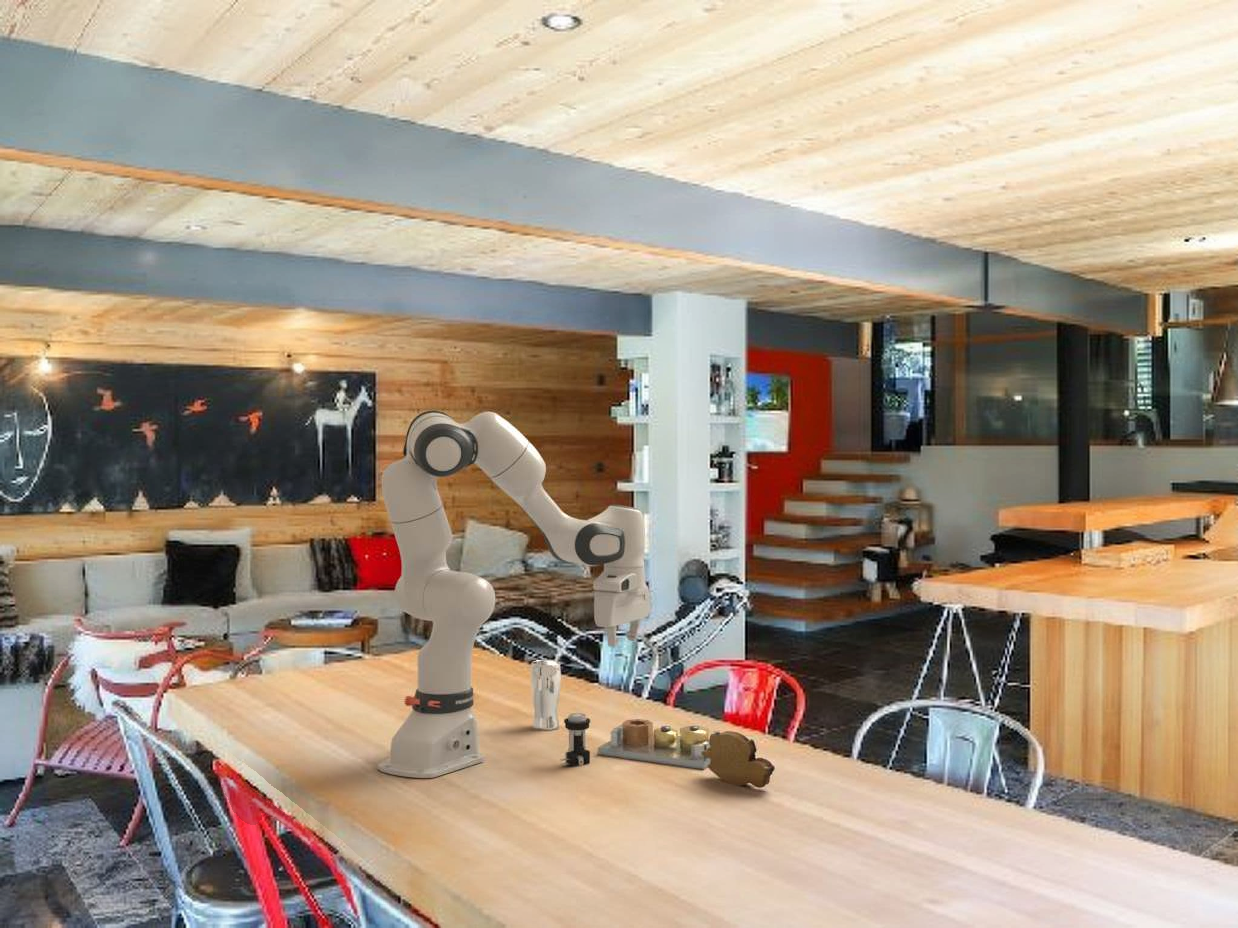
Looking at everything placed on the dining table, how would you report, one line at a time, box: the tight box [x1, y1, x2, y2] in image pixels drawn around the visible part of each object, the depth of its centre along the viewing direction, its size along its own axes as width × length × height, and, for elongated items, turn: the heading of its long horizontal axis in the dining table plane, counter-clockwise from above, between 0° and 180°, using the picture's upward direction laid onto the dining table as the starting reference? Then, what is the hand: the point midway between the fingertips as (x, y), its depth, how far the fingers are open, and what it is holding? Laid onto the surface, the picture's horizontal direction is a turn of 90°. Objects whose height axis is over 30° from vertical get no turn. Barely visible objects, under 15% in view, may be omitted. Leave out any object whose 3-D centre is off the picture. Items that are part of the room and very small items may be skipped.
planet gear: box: [622, 718, 654, 746], centre depth 236 cm, size 6×6×4 cm
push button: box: [560, 712, 591, 768], centre depth 224 cm, size 7×5×10 cm
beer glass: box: [530, 659, 562, 731], centre depth 254 cm, size 7×7×15 cm
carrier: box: [597, 724, 721, 770], centre depth 234 cm, size 16×24×6 cm, turn 64°
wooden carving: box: [701, 730, 775, 789], centre depth 212 cm, size 16×5×10 cm, turn 49°
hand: (622, 642), depth 240 cm, fingers open, 8 cm apart
